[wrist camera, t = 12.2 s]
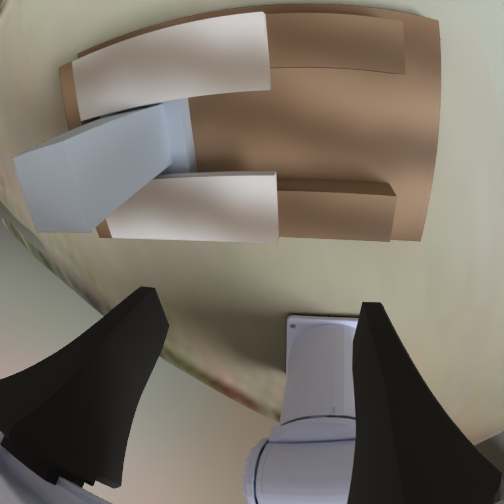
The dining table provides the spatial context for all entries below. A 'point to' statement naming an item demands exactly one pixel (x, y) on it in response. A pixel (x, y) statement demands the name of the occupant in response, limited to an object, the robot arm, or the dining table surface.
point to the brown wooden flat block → (278, 121)
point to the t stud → (104, 164)
